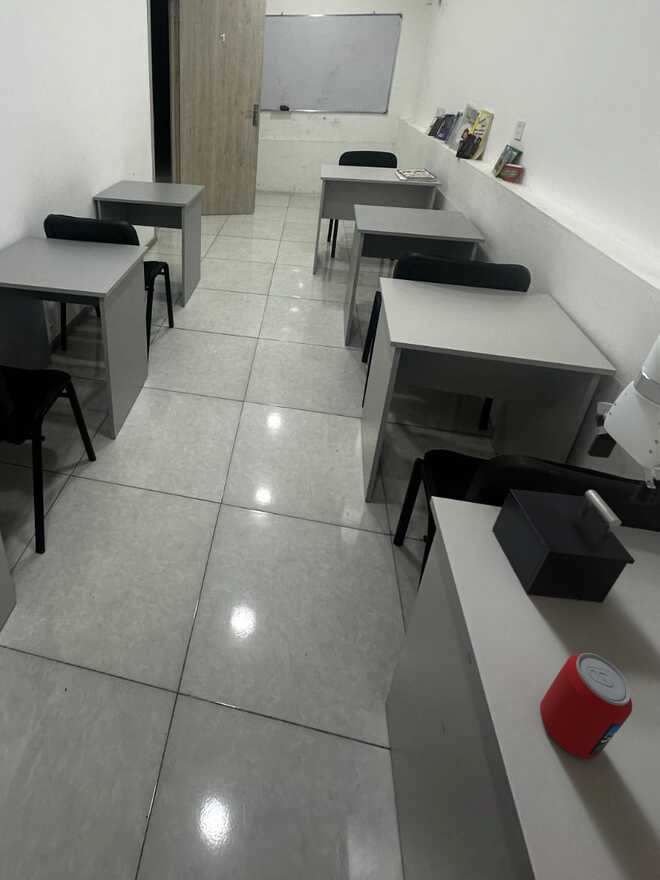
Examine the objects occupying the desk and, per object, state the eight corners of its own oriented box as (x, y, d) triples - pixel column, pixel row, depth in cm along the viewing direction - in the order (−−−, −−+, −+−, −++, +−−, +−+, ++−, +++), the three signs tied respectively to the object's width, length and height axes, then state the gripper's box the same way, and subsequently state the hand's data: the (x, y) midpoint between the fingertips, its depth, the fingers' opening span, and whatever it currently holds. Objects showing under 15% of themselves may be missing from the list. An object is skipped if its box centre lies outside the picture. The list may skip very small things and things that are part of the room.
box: (557, 536, 91) (577, 499, 87) (602, 603, 79) (627, 564, 76) (491, 529, 91) (508, 492, 87) (526, 594, 80) (547, 555, 76)
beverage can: (607, 773, 59) (649, 721, 55) (545, 748, 61) (581, 696, 56) (587, 711, 65) (624, 659, 60) (531, 690, 67) (563, 638, 62)
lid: (582, 500, 87) (594, 476, 85) (633, 564, 76) (649, 539, 73) (508, 492, 87) (518, 469, 85) (547, 555, 76) (560, 530, 74)
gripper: (753, 435, 61) (688, 528, 68) (648, 360, 77) (604, 442, 84) (693, 429, 61) (634, 522, 68) (601, 355, 77) (561, 437, 84)
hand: (618, 478), depth 76 cm, fingers open, 9 cm apart
